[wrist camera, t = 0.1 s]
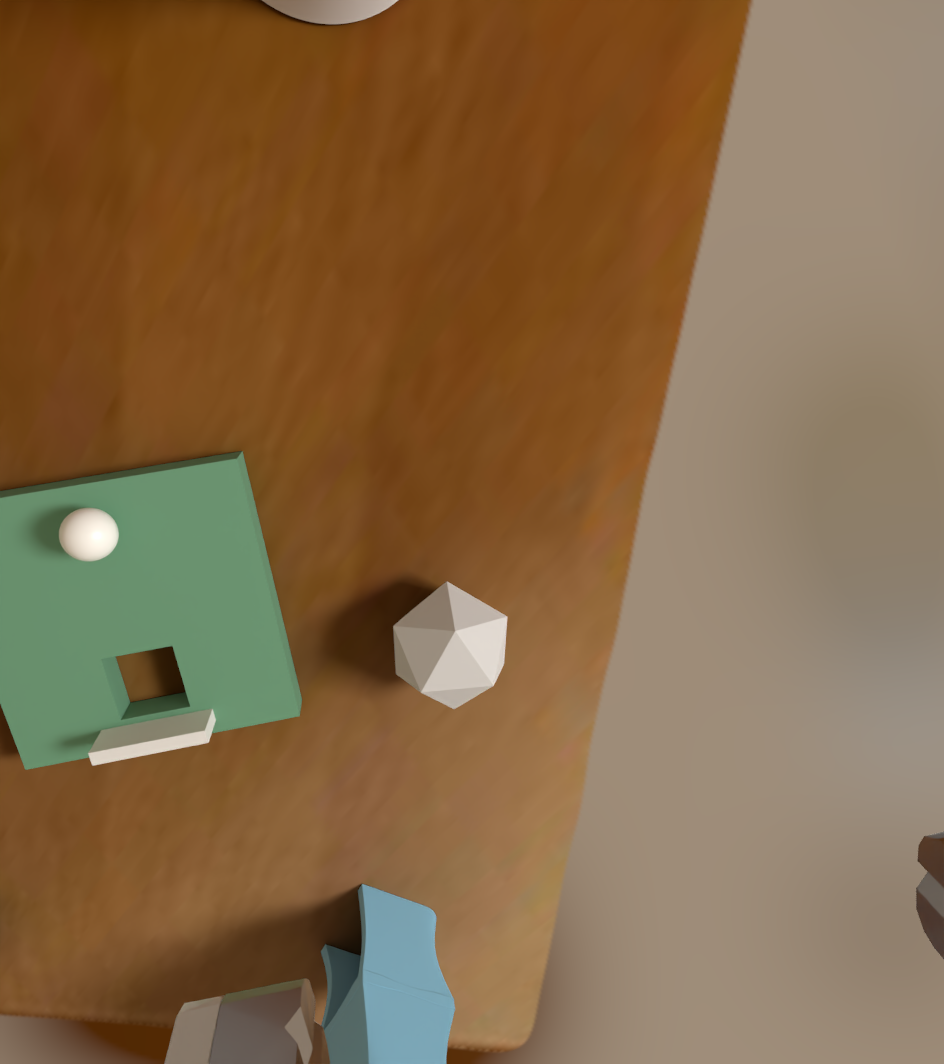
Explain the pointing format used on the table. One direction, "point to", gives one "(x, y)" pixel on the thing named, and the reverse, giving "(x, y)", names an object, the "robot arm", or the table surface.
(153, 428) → the table surface
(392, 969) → the blue wavy channel
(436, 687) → the die
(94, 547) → the ball
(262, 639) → the green box with hole
